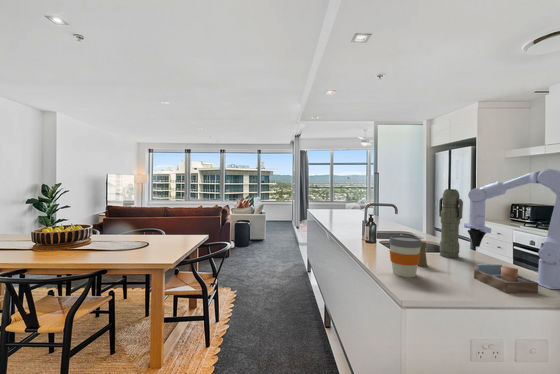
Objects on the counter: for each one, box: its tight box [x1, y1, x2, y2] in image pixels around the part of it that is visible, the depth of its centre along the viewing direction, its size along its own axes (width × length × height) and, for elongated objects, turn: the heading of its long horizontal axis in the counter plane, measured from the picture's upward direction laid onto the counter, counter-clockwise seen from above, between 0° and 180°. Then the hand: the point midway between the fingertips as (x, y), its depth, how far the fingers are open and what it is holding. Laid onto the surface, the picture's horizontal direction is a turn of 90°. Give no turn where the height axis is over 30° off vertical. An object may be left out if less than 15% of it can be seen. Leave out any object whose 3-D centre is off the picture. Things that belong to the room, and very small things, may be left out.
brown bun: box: [501, 265, 519, 282], centre depth 111 cm, size 5×5×5 cm
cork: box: [417, 240, 428, 267], centre depth 140 cm, size 6×6×11 cm
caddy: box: [473, 268, 539, 294], centre depth 114 cm, size 16×12×4 cm
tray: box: [476, 263, 527, 282], centre depth 115 cm, size 14×10×4 cm
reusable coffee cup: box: [388, 234, 422, 278], centre depth 125 cm, size 13×13×15 cm
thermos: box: [438, 188, 464, 259], centre depth 157 cm, size 9×12×35 cm
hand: (476, 246), depth 133 cm, fingers closed
